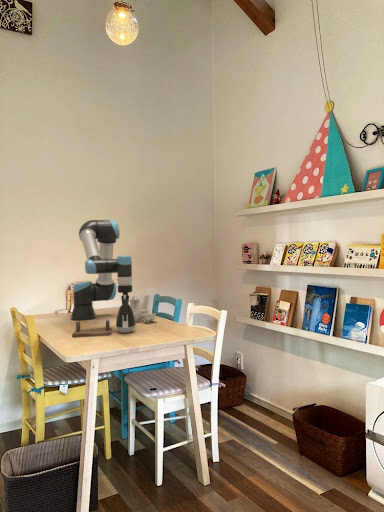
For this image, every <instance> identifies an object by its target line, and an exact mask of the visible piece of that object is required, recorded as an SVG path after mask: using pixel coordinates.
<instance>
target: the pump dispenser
mask: <svg viewBox="0 0 384 512" xmlns="http://www.w3.org/2000/svg"><path fill="white" fill-rule="evenodd" d="M127 312H128V314H127V315H128V328H123V319H122V315H121V313H122V304H121V305H120V306H119V309H118V312H117V314H116V321H115V327H116V329H117V331H118V332H119V333H121V334H129V333H132V332H133V331H134V330H135V327H136V324H137V322H135V317H134V313H133V310H132V308H131V306H130V304H129V303H128V306H127Z"/></svg>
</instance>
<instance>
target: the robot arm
mask: <svg viewBox="0 0 384 512" xmlns="http://www.w3.org/2000/svg"><path fill="white" fill-rule="evenodd" d="M78 237H79V240H80V241H81V242H82V245H83V249H84V253H85V255H86V256H85V257H86V260H85V262H84V269H85V273H86V274H87V275H90V274H91V275H98V276H97V278H96V279H95V282H92V281H90V280H89V281H82V282H78V283H74V285H73V289H72V292H73V309H72V312H71V317H70V319H71V320H72V321H86V320H87V321H88V320H93V319H96V317H97V316H96V312H95V310H94V306H93V302H102V301H111V300H115V297H116V295H117V293H119V294H120V293H121V294H122V295H120V296H121V297H120V298H121V299H120V300H121V305H122V313H121V315H122V319H123V328H128V315H127V314H128V312H127V306H128V304H129V303H130V300H129V299H130V295H129V293H132V292H133V269H132V264H133V262H132V261H133V260H132V256H131V255H130V254H129V255H125V254H124V255H117V257H116V258H113V257H114V245H115V243H117V240H118V239H120V227H119V224H118V222H117V221H116V220H112V219H111V220H110V219H90V220H88V221H85V222H84V223H83V224H82V225H81V227H80V228H79V230H78ZM97 243H98V244H99V246H98V244H97ZM113 274H117V278H116V281H117V284H116V282H115V280H114V279H113Z"/></svg>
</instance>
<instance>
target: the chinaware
mask: <svg viewBox="0 0 384 512" xmlns="http://www.w3.org/2000/svg"><path fill="white" fill-rule="evenodd" d="M140 300H141V299H140V298H138V296H137V295H136V294H133V296H132V298H129V303H130V304H129V305H130V306H131V308H132V310H133V313H134V317H135V322H136V323H141V322H143V320H144V321H145V322H146V324H153V321H155V318H156V315H157V313H156V312H155V313H153V312H149V311H150V309H148V308H145V309H143V308H141V307H140V302H141V301H140Z"/></svg>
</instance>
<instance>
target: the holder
mask: <svg viewBox="0 0 384 512" xmlns="http://www.w3.org/2000/svg"><path fill="white" fill-rule="evenodd" d="M104 322H105V327H100V328H98V327H97V328H81V322H80V321H76V322H75V330H74V332H72V334H71V338H83V337H84V338H86V337H87V338H88V337H89V338H90V337H107V336H109V335H112V333H113V331H112V330H113V327H111V326H110V320H109V319H108V320H105V321H104ZM109 337H110V336H109Z"/></svg>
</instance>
